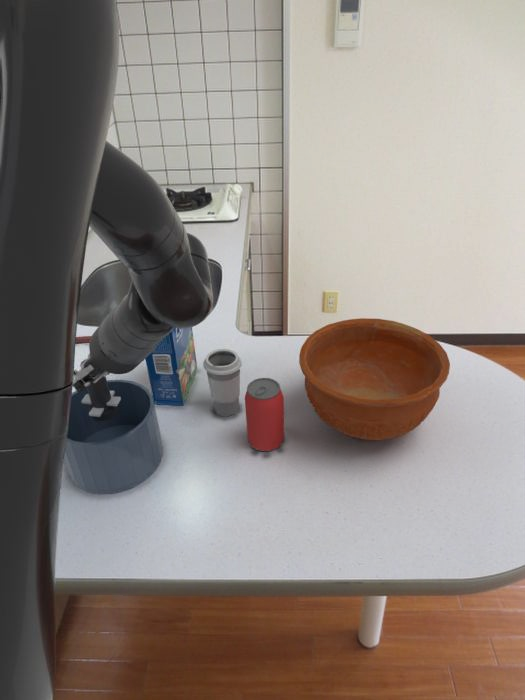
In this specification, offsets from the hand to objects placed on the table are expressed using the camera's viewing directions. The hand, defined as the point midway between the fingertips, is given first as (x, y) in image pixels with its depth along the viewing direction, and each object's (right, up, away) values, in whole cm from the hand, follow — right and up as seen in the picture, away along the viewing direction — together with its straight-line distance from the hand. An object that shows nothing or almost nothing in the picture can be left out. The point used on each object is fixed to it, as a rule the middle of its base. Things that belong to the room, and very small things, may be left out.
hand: (88, 379), depth 84 cm
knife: (-18, +7, +41) cm, 45 cm away
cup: (+21, -7, +18) cm, 28 cm away
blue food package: (+10, -3, +24) cm, 27 cm away
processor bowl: (+2, -14, +8) cm, 17 cm away
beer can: (+28, -12, +11) cm, 32 cm away
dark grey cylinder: (+2, -6, +2) cm, 6 cm away
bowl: (+47, -9, +14) cm, 50 cm away
